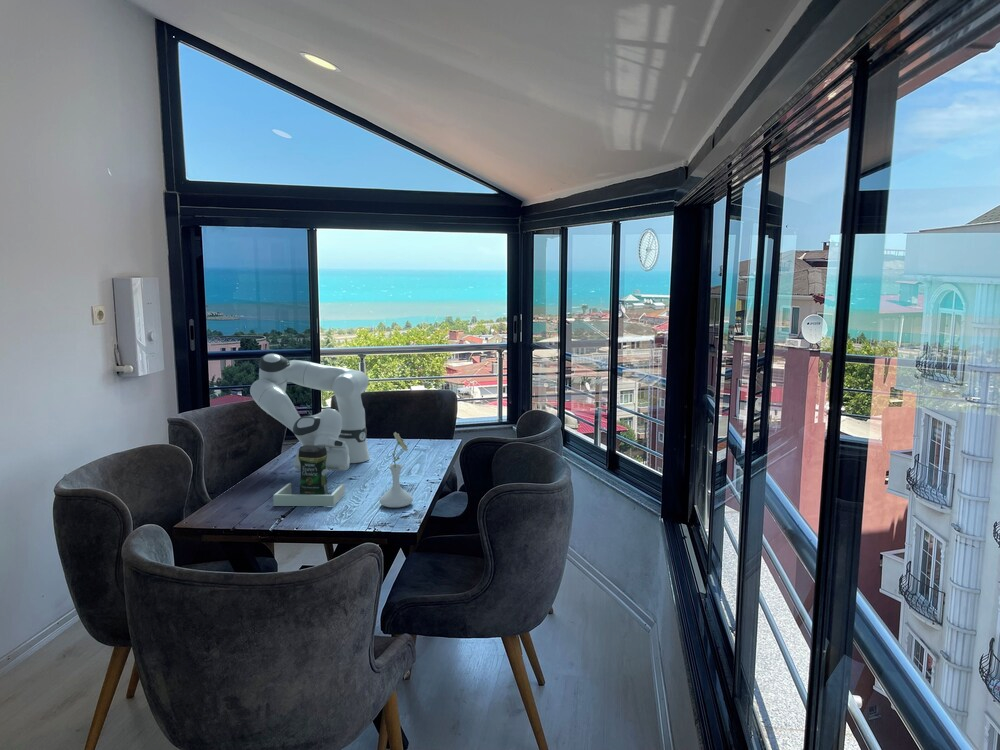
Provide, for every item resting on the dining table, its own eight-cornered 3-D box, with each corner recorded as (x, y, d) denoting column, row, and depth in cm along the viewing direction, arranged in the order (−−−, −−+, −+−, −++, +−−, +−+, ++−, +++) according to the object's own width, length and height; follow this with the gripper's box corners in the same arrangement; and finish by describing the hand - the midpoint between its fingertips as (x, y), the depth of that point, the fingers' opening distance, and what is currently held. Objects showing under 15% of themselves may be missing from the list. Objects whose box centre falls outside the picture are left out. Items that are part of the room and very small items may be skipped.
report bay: (288, 493, 237) (288, 483, 237) (344, 494, 236) (344, 483, 236) (273, 506, 223) (273, 495, 222) (333, 507, 222) (332, 495, 221)
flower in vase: (412, 510, 219) (411, 436, 216) (377, 511, 218) (376, 437, 215) (414, 498, 232) (413, 429, 229) (381, 499, 231) (380, 429, 228)
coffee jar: (296, 498, 232) (294, 447, 229) (307, 491, 239) (305, 442, 237) (321, 500, 230) (319, 448, 228) (331, 493, 238) (329, 443, 235)
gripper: (295, 442, 245) (287, 474, 236) (349, 442, 244) (343, 475, 236) (300, 451, 250) (292, 483, 241) (353, 451, 249) (347, 483, 240)
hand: (318, 479), depth 238 cm, fingers closed, pressing on coffee jar
